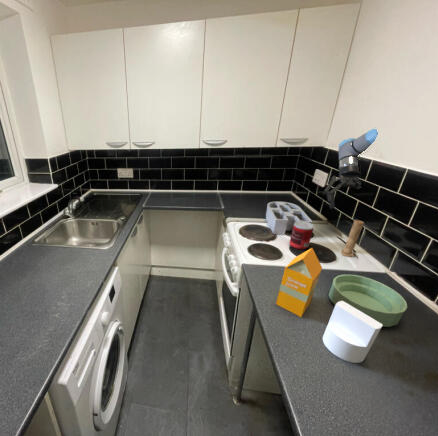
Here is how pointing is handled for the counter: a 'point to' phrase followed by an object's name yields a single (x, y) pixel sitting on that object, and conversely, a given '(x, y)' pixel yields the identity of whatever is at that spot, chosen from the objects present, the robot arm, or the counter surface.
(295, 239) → the canned food
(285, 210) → the grey compartment organizer
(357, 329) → the base with upright slab
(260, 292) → the counter surface
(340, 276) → the bowl
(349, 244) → the muddler
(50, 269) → the counter surface
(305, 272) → the orange juice
